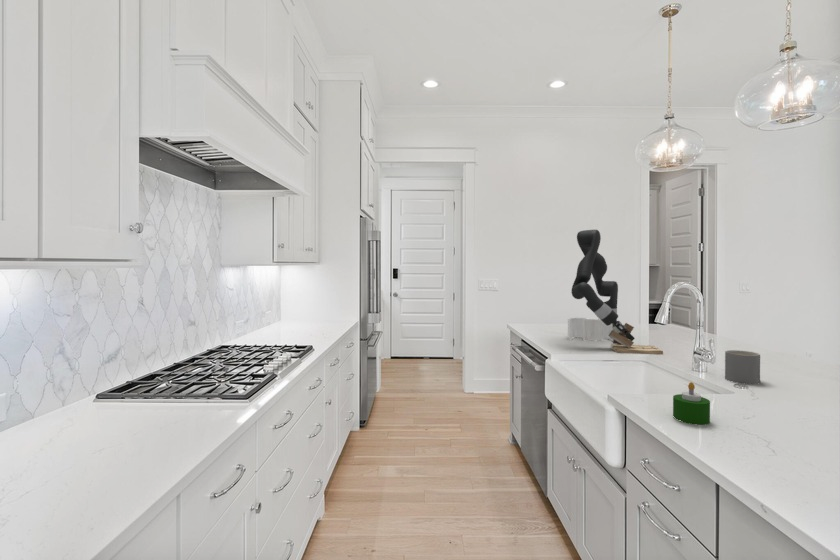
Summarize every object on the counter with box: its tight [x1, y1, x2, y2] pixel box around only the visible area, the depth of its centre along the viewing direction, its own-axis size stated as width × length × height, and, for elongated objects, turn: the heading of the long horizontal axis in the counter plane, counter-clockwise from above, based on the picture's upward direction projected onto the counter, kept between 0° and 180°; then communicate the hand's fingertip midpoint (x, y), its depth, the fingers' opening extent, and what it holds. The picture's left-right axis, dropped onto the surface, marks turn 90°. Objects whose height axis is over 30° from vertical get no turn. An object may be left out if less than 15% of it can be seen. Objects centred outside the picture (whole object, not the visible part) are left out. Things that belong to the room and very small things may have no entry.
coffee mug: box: [724, 349, 761, 385], centre depth 151 cm, size 13×10×10 cm
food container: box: [612, 324, 628, 345], centre depth 223 cm, size 12×6×10 cm, turn 179°
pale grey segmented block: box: [567, 317, 613, 342], centre depth 238 cm, size 25×10×12 cm, turn 71°
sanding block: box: [608, 322, 635, 348], centre depth 206 cm, size 6×10×10 cm, turn 76°
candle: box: [672, 381, 711, 426], centre depth 111 cm, size 8×8×10 cm
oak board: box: [610, 343, 664, 355], centre depth 205 cm, size 14×20×2 cm
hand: (632, 338), depth 205 cm, fingers closed on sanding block, 3 cm apart
